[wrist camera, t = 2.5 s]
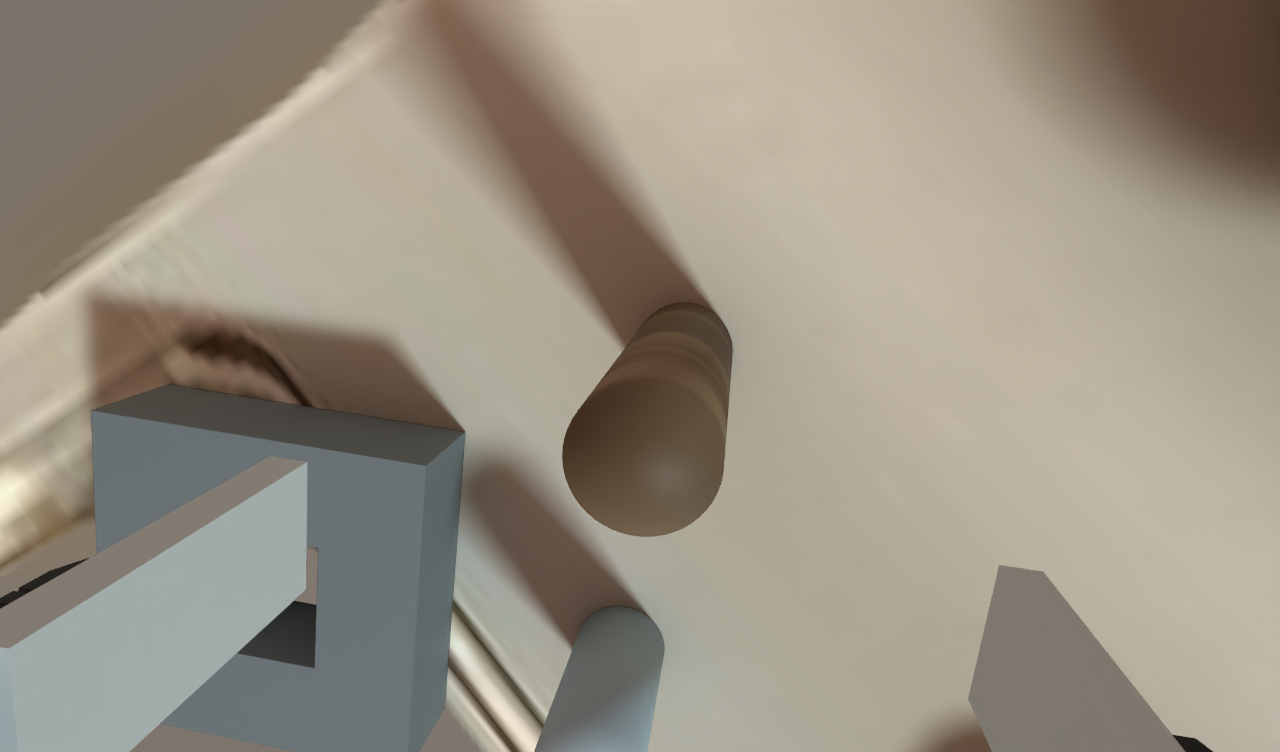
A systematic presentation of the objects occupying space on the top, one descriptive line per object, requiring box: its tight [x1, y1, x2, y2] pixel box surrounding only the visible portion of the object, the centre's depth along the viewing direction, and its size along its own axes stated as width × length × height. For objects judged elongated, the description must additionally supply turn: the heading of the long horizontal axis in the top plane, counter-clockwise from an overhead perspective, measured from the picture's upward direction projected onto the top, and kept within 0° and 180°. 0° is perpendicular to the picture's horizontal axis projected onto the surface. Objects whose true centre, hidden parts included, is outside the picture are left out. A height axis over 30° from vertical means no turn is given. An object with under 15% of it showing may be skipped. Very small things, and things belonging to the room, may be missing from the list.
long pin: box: [562, 303, 733, 537], centre depth 27 cm, size 4×4×14 cm
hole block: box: [91, 384, 465, 752], centre depth 36 cm, size 14×14×4 cm
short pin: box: [535, 606, 664, 752], centre depth 33 cm, size 4×4×8 cm
